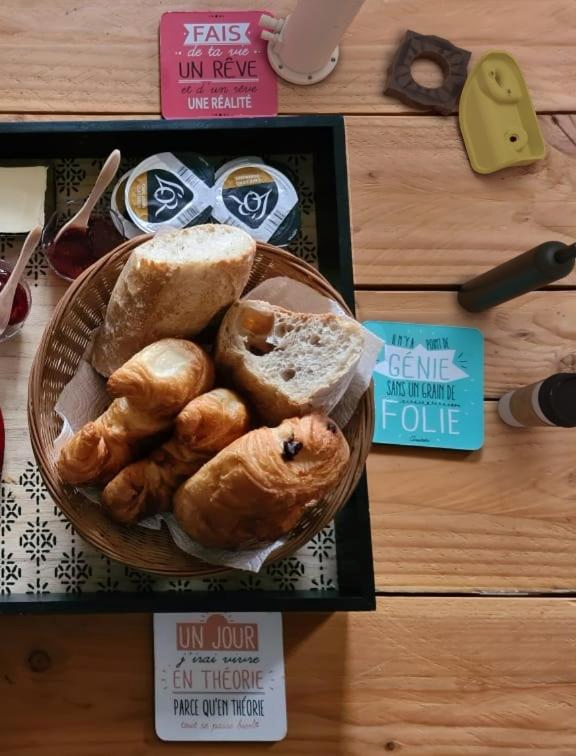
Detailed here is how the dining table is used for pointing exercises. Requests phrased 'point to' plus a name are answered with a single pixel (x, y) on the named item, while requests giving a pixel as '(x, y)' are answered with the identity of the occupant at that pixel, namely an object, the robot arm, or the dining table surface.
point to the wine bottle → (518, 276)
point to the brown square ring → (440, 52)
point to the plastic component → (499, 115)
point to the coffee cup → (542, 403)
